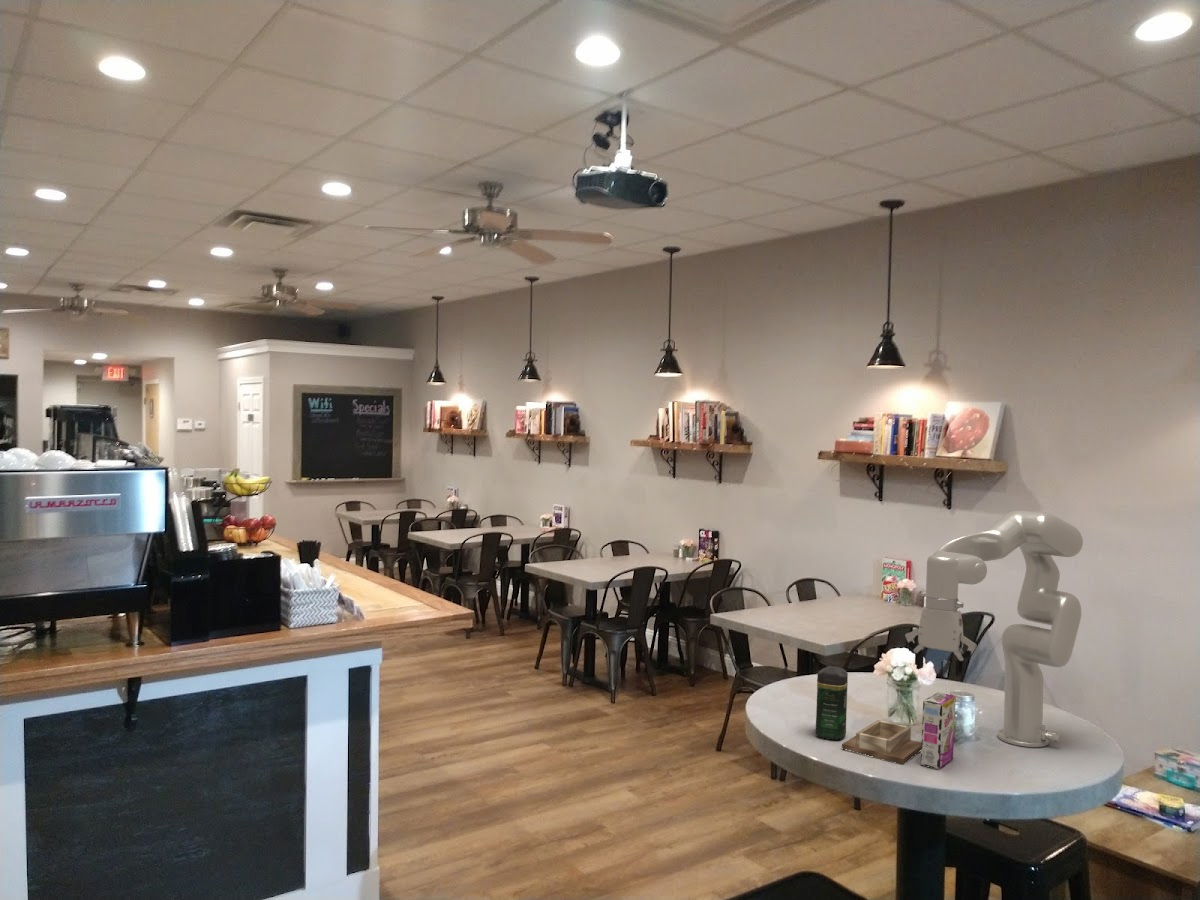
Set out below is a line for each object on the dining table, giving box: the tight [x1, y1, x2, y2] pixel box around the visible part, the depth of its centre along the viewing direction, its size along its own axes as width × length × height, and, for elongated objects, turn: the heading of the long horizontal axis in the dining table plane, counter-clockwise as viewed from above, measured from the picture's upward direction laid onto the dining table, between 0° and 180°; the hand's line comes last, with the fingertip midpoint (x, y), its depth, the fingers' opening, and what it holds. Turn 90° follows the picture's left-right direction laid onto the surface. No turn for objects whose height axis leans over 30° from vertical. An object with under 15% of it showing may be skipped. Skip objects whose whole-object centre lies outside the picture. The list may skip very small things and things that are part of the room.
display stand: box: [841, 719, 922, 765], centre depth 229 cm, size 16×16×5 cm
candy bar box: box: [920, 692, 957, 770], centre depth 220 cm, size 11×5×16 cm, turn 141°
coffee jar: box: [815, 665, 849, 740], centre depth 239 cm, size 10×8×19 cm
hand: (939, 672), depth 220 cm, fingers open, 9 cm apart
